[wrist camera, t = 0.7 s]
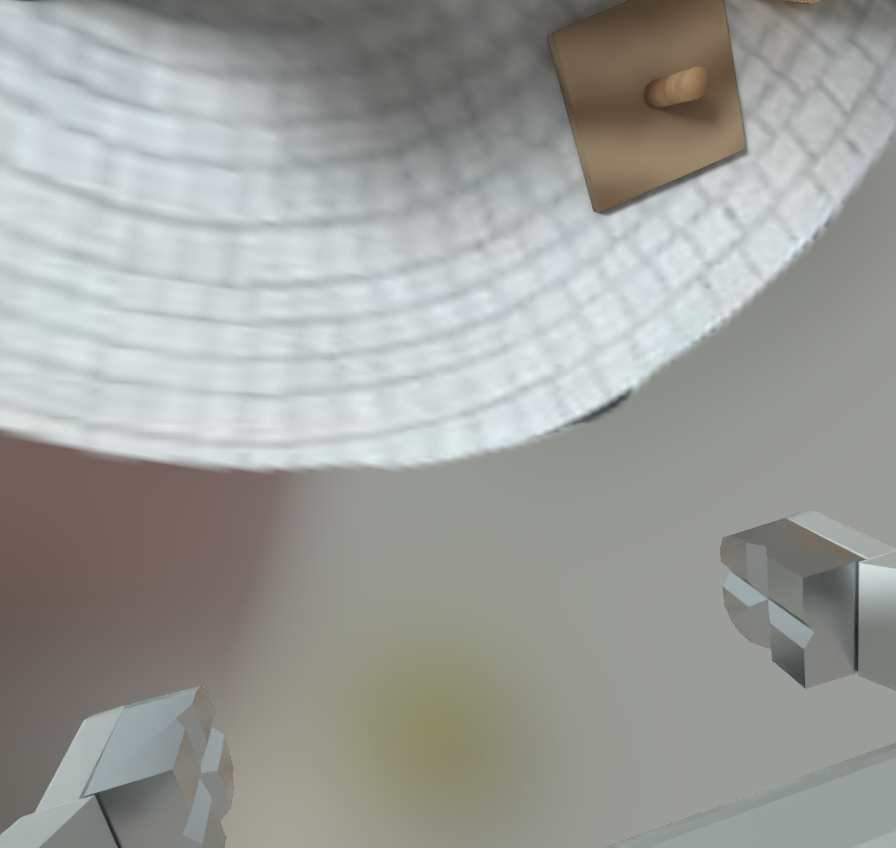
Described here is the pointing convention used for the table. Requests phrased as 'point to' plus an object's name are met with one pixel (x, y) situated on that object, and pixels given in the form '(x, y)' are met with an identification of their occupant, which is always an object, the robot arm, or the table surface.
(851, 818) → the robot arm
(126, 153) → the table surface
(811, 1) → the tall orange pillar
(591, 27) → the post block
